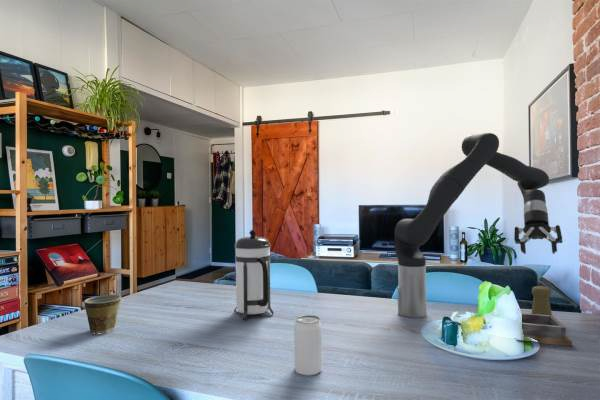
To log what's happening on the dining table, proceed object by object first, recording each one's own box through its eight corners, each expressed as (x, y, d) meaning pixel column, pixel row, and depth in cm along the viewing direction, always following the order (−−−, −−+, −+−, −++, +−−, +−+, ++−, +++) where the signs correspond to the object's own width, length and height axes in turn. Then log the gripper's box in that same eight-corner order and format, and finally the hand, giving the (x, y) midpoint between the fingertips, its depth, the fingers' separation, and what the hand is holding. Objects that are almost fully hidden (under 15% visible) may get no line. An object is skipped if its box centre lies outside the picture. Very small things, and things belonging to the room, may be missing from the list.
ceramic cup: (127, 327, 113) (127, 296, 113) (98, 338, 104) (98, 304, 104) (100, 322, 119) (100, 292, 119) (70, 332, 110) (70, 300, 110)
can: (293, 364, 86) (293, 315, 86) (320, 363, 87) (319, 314, 87) (295, 377, 80) (295, 324, 80) (324, 375, 80) (323, 322, 80)
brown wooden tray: (516, 340, 99) (515, 324, 99) (506, 325, 111) (506, 310, 111) (571, 346, 95) (571, 329, 95) (555, 329, 107) (555, 314, 107)
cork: (556, 324, 112) (556, 289, 112) (535, 323, 113) (534, 288, 113) (547, 318, 118) (546, 285, 118) (527, 317, 119) (526, 284, 119)
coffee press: (221, 319, 121) (221, 231, 121) (246, 306, 135) (245, 228, 136) (267, 325, 114) (266, 232, 114) (287, 310, 129) (286, 228, 129)
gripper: (512, 210, 134) (513, 247, 126) (558, 207, 126) (563, 246, 118) (514, 221, 139) (516, 257, 130) (559, 219, 131) (564, 258, 122)
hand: (538, 252), depth 124 cm, fingers open, 8 cm apart
